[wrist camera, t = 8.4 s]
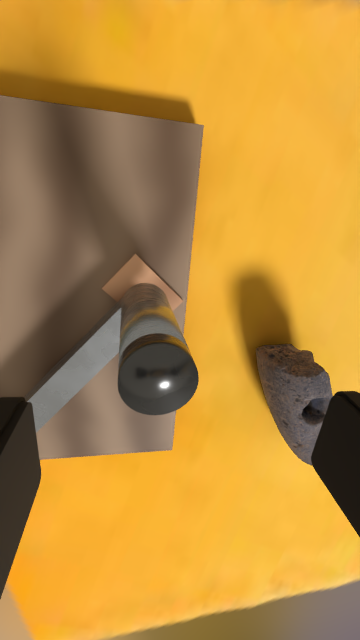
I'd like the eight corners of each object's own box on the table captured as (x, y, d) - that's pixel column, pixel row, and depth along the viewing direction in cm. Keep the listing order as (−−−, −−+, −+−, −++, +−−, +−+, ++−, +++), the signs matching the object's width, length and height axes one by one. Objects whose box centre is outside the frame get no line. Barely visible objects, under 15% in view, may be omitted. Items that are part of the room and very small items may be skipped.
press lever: (178, 300, 22) (223, 386, 12) (3, 469, 26) (-81, 652, 15) (136, 260, 21) (146, 320, 10) (-45, 447, 24) (-177, 636, 14)
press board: (198, 130, 20) (204, 123, 18) (169, 438, 31) (172, 452, 29) (-120, 85, 17) (-149, 71, 15) (-30, 451, 27) (-41, 468, 25)
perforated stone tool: (311, 427, 34) (353, 479, 27) (269, 443, 34) (302, 499, 27) (292, 317, 28) (342, 352, 21) (241, 336, 27) (276, 377, 21)
